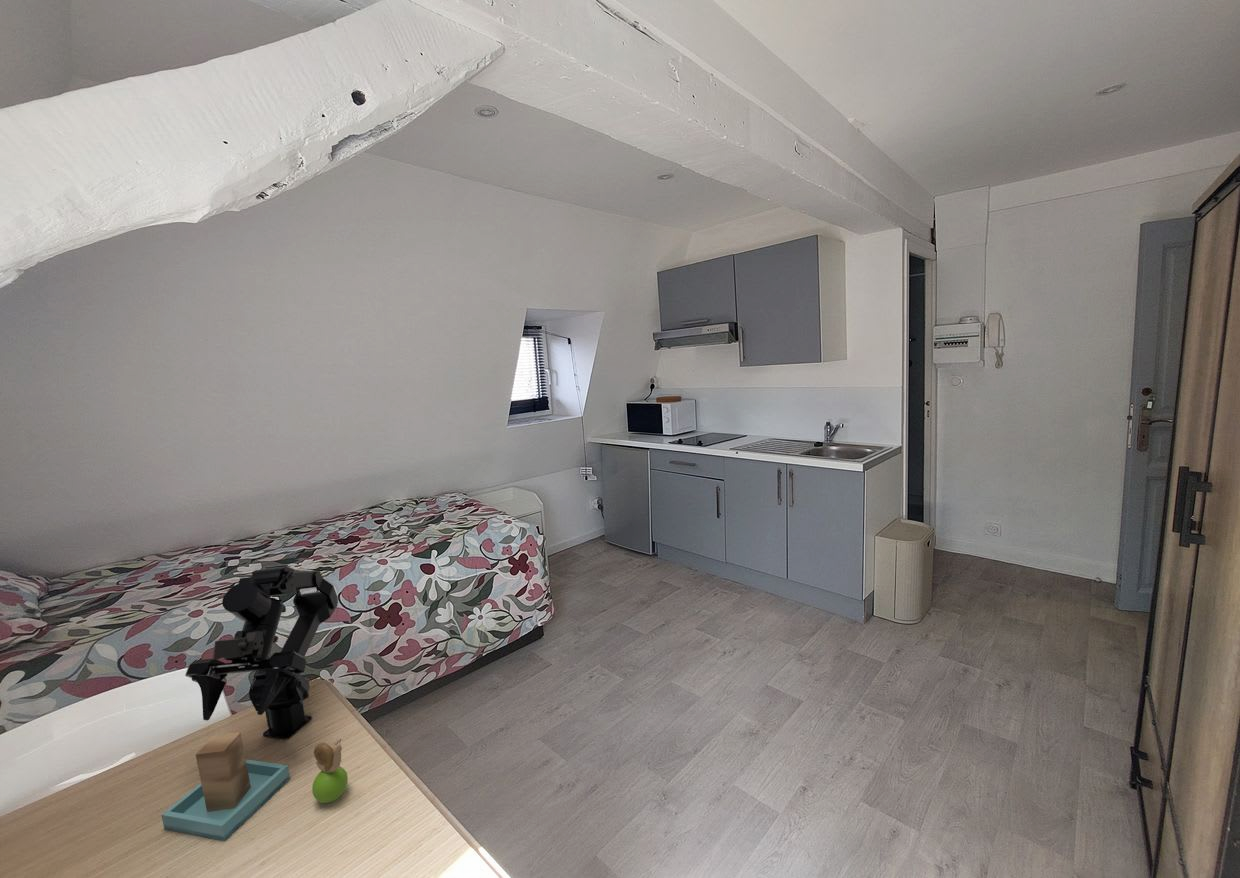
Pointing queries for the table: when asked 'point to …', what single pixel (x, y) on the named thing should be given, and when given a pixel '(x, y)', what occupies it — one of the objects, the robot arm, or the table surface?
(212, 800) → the walnut block
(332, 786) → the snail figurine
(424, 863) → the table surface
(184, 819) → the teal tray
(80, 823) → the table surface
